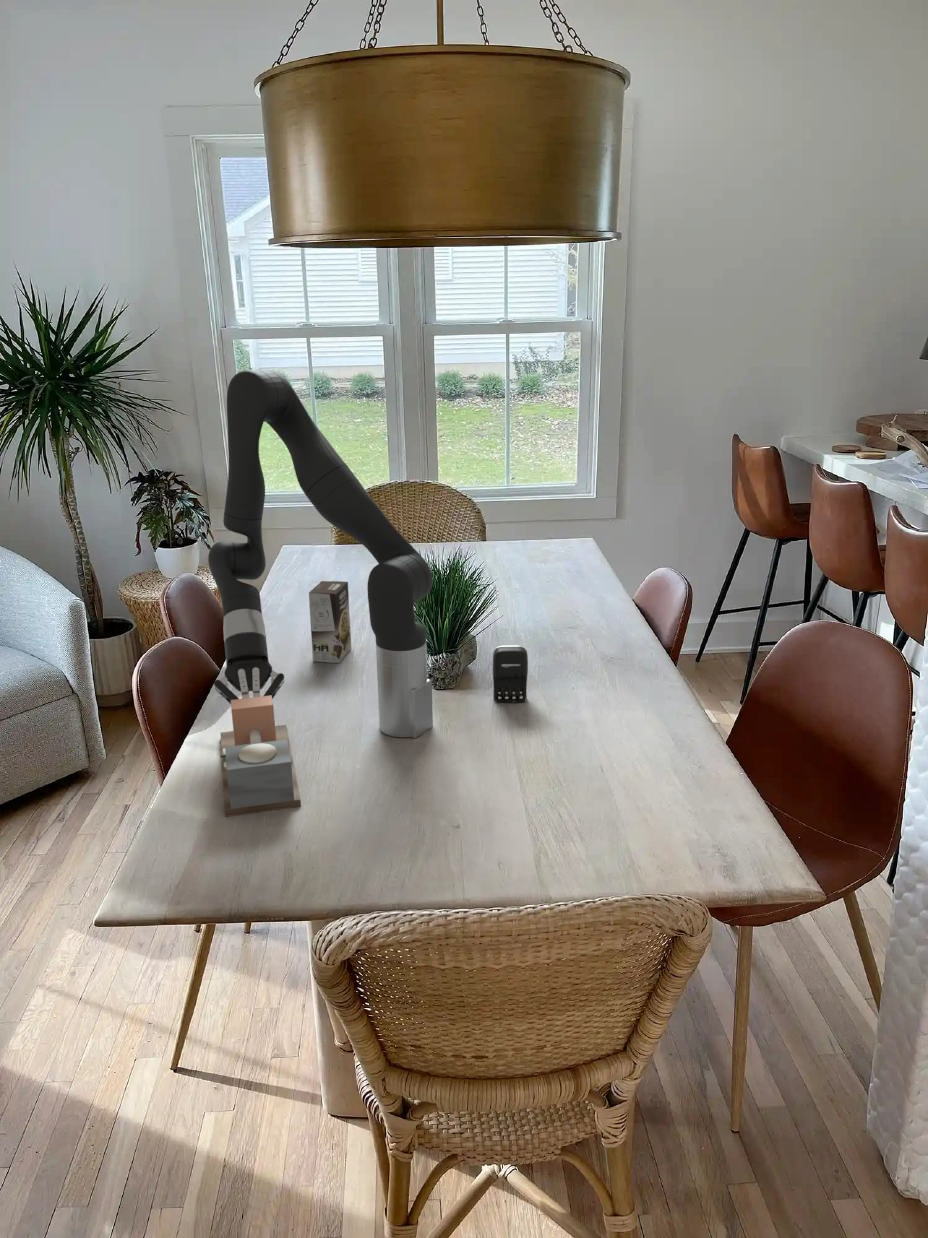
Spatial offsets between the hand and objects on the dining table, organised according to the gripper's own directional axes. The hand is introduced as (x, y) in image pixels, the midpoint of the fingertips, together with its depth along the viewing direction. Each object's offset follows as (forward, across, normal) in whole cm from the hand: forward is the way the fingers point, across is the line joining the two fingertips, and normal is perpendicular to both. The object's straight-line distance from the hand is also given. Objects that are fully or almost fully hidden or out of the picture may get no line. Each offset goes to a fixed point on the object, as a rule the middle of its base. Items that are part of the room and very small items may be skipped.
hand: (254, 727), depth 172 cm
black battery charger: (-3, +50, +11) cm, 51 cm away
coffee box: (-27, +19, +35) cm, 48 cm away
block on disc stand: (+6, -1, -1) cm, 7 cm away
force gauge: (+8, 0, 0) cm, 8 cm away
